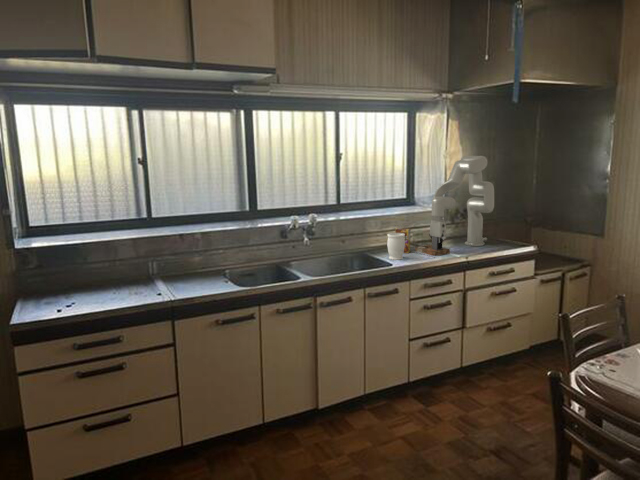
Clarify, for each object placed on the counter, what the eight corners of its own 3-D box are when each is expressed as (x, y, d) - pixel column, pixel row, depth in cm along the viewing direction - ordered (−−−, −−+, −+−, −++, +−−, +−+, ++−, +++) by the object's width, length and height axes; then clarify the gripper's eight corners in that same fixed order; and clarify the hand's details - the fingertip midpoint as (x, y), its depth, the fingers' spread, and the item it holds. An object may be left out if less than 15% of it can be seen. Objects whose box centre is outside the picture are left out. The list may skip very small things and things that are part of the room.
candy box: (394, 252, 311) (394, 228, 308) (397, 251, 314) (397, 227, 311) (408, 253, 306) (408, 229, 303) (410, 252, 310) (410, 228, 307)
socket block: (429, 249, 314) (429, 244, 314) (449, 255, 299) (449, 248, 298) (414, 252, 309) (415, 246, 308) (434, 257, 293) (434, 251, 292)
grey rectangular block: (437, 251, 302) (437, 234, 300) (441, 252, 299) (442, 235, 297) (432, 251, 300) (432, 235, 298) (436, 253, 297) (437, 235, 295)
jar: (393, 255, 301) (393, 231, 298) (407, 257, 295) (408, 233, 292) (383, 259, 293) (383, 234, 290) (398, 261, 287) (399, 236, 284)
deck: (442, 248, 318) (442, 246, 318) (451, 250, 312) (451, 248, 311) (433, 249, 315) (433, 248, 314) (441, 251, 308) (441, 250, 308)
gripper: (452, 219, 290) (451, 249, 294) (433, 216, 305) (432, 245, 308) (442, 220, 287) (442, 251, 290) (423, 217, 301) (423, 246, 305)
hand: (437, 247), depth 299 cm, fingers closed on grey rectangular block, 4 cm apart
